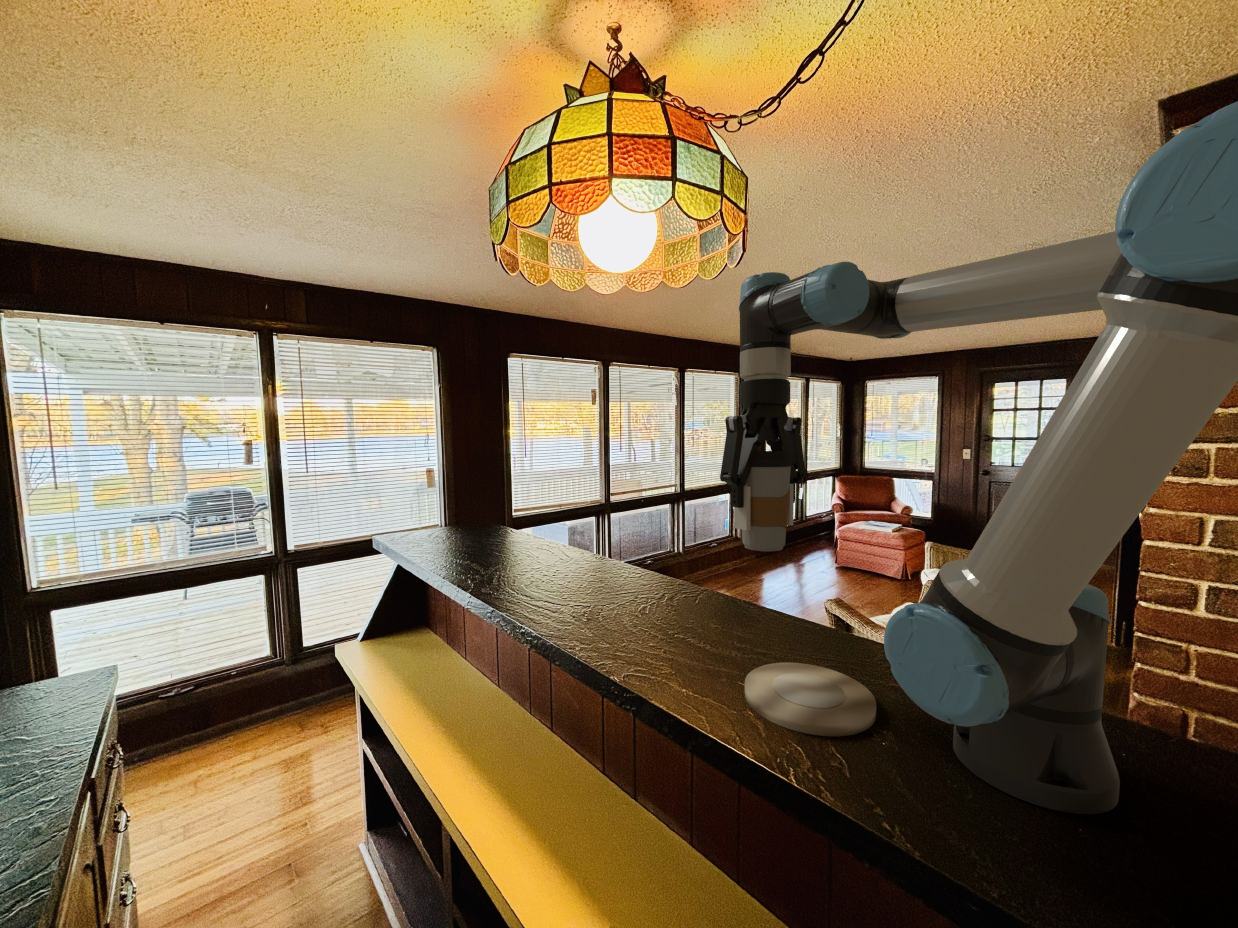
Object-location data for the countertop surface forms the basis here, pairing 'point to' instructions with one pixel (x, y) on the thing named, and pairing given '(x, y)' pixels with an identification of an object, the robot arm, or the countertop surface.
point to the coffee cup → (768, 501)
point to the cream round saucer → (810, 699)
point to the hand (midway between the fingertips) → (764, 526)
